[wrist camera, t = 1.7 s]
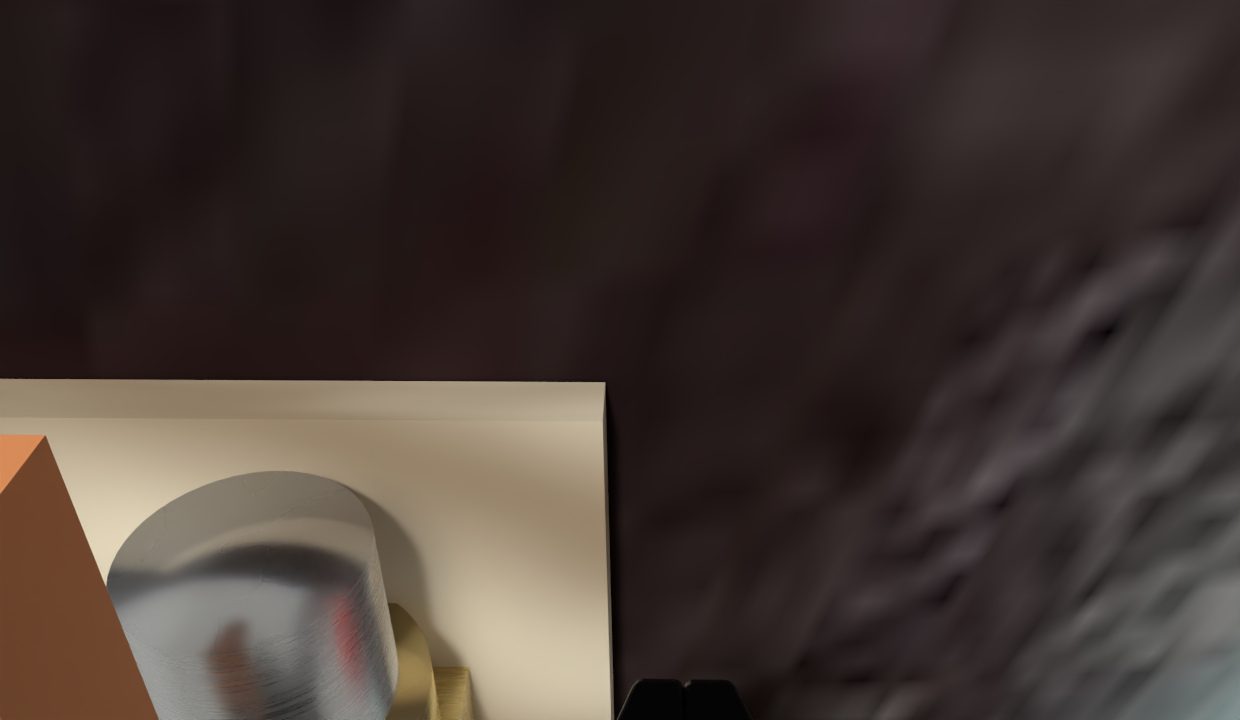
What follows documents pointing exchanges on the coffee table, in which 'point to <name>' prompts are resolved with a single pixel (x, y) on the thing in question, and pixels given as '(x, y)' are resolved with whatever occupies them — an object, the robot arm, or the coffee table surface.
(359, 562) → the valve
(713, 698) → the robot arm
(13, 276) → the coffee table surface
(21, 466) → the valve lever
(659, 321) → the coffee table surface
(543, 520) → the valve board
